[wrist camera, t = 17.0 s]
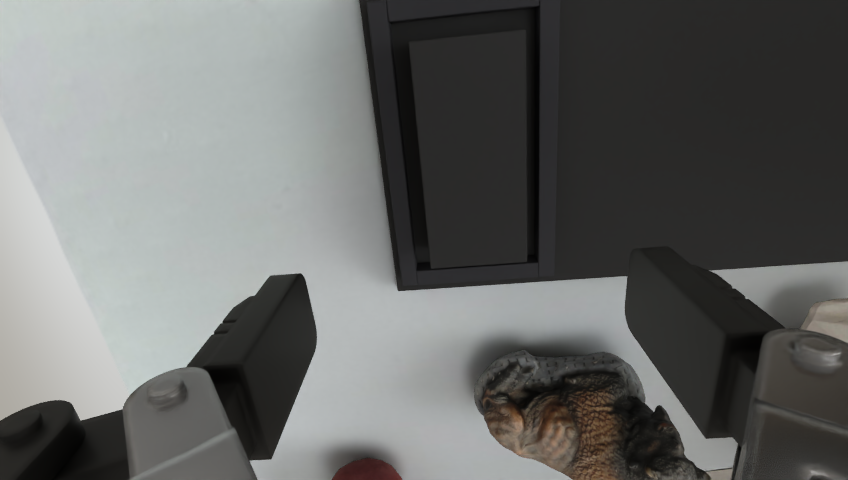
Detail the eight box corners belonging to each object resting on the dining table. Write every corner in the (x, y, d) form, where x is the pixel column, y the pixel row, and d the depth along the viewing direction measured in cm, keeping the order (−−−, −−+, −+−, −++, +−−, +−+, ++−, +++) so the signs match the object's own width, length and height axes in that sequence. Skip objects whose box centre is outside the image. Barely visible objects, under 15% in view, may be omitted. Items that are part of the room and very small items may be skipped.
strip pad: (412, 42, 24) (408, 41, 21) (515, 32, 23) (526, 29, 21) (431, 248, 28) (430, 269, 26) (518, 241, 28) (527, 262, 25)
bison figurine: (476, 412, 35) (489, 543, 25) (467, 337, 32) (479, 453, 23) (634, 400, 34) (708, 532, 24) (639, 321, 31) (724, 436, 22)
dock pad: (399, 284, 30) (396, 300, 28) (360, -14, 24) (352, -21, 22) (1000, 243, 28) (1044, 258, 26) (1153, -104, 21) (1230, -121, 19)
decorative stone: (781, 503, 32) (785, 332, 26) (744, 453, 36) (741, 295, 30) (937, 483, 30) (976, 296, 25) (881, 432, 34) (903, 262, 28)
